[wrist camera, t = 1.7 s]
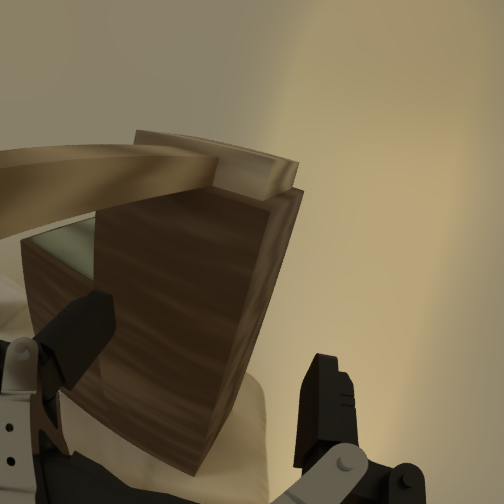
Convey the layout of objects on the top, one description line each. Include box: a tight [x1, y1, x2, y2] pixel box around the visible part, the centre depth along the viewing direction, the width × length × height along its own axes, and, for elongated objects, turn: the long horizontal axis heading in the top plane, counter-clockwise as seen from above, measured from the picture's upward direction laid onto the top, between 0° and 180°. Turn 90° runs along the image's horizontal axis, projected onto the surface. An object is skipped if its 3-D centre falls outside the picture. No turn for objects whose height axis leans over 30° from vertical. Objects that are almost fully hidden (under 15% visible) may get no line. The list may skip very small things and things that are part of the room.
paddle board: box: [0, 130, 299, 239], centre depth 15 cm, size 24×10×2 cm, turn 162°
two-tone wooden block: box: [20, 186, 304, 477], centre depth 29 cm, size 14×25×32 cm, turn 72°
